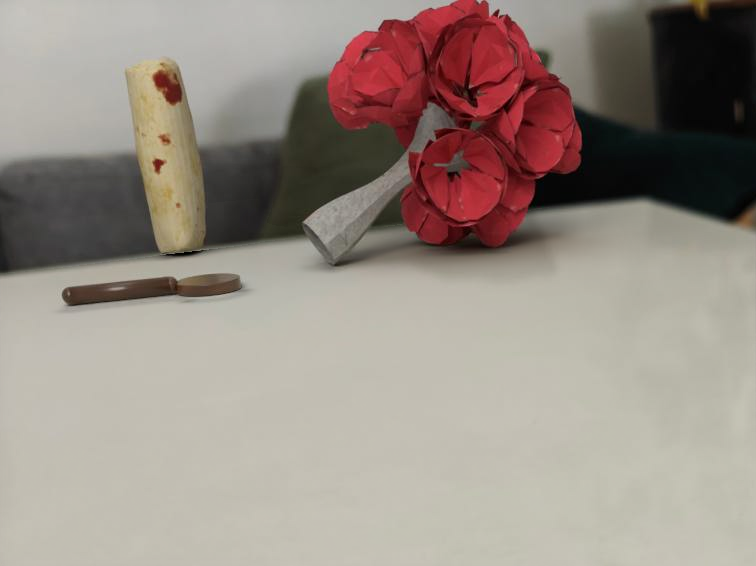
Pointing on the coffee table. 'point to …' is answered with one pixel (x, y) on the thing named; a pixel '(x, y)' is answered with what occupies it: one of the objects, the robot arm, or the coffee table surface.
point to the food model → (167, 154)
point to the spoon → (152, 288)
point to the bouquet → (449, 127)
